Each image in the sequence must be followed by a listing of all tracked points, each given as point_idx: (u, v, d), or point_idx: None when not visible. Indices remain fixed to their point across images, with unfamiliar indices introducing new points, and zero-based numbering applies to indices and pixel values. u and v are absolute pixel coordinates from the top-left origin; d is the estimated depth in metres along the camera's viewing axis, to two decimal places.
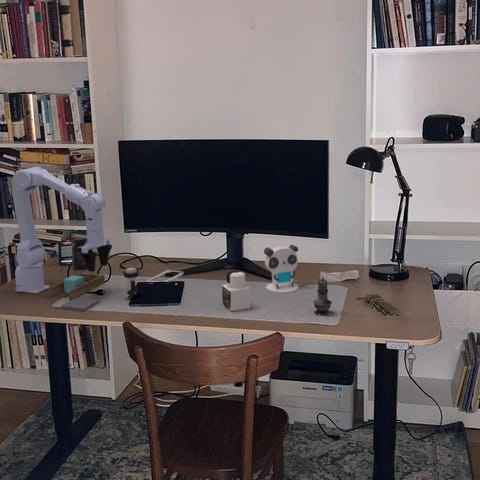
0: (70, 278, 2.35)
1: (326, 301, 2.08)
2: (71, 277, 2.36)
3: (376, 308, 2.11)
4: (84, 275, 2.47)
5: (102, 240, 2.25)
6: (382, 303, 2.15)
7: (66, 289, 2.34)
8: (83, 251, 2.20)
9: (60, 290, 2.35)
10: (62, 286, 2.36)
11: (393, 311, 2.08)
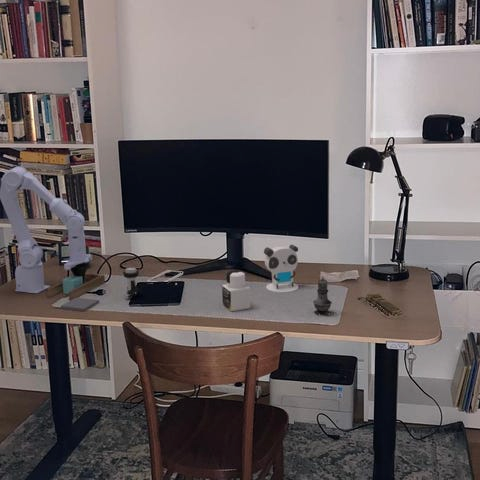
0: (69, 278, 2.35)
1: (326, 301, 2.08)
2: (70, 277, 2.35)
3: (378, 308, 2.12)
4: None
5: (84, 257, 2.36)
6: (383, 303, 2.15)
7: (65, 289, 2.34)
8: (66, 268, 2.31)
9: (60, 290, 2.35)
10: (62, 286, 2.36)
11: (395, 311, 2.08)
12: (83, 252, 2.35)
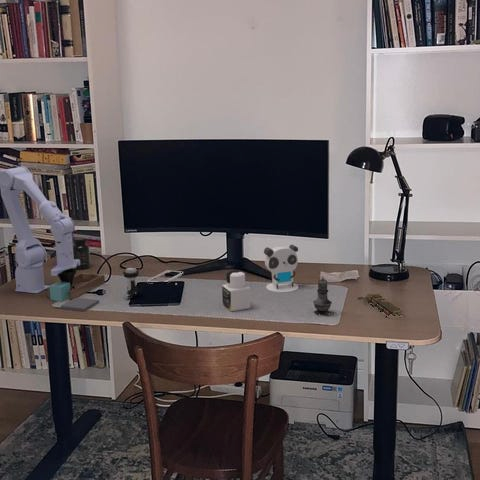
0: (56, 284, 2.28)
1: (326, 301, 2.08)
2: (57, 283, 2.29)
3: (378, 308, 2.12)
4: (84, 275, 2.47)
5: (72, 263, 2.29)
6: (384, 303, 2.15)
7: (52, 296, 2.27)
8: (52, 274, 2.24)
9: None
10: None
11: (395, 311, 2.08)
12: (71, 257, 2.28)
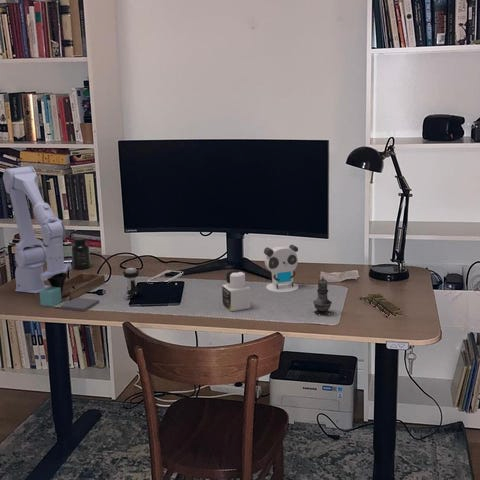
0: (46, 289, 2.23)
1: (326, 301, 2.08)
2: (47, 288, 2.24)
3: (379, 308, 2.12)
4: (84, 275, 2.47)
5: (62, 267, 2.24)
6: (384, 303, 2.15)
7: (42, 301, 2.22)
8: (42, 279, 2.19)
9: None
10: None
11: (396, 311, 2.08)
12: (61, 262, 2.23)
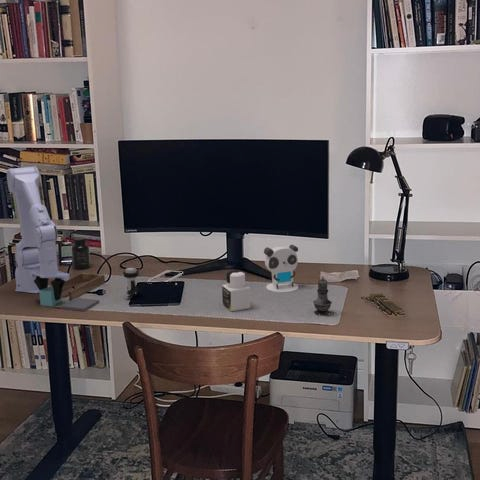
0: (46, 289, 2.23)
1: (326, 301, 2.08)
2: (47, 288, 2.24)
3: (380, 307, 2.12)
4: (84, 275, 2.47)
5: (43, 272, 2.19)
6: (386, 302, 2.16)
7: (42, 301, 2.22)
8: None
9: None
10: None
11: (397, 310, 2.08)
12: (42, 266, 2.19)
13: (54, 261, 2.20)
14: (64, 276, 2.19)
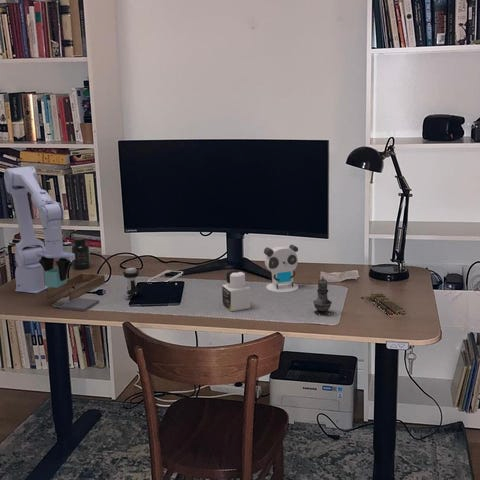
0: (51, 270, 2.20)
1: (326, 301, 2.08)
2: (52, 269, 2.21)
3: (381, 307, 2.12)
4: (84, 275, 2.47)
5: (48, 252, 2.17)
6: (387, 302, 2.16)
7: (47, 282, 2.19)
8: None
9: (60, 290, 2.35)
10: (62, 286, 2.36)
11: (398, 310, 2.08)
12: (47, 246, 2.16)
13: (59, 241, 2.17)
14: (69, 256, 2.16)
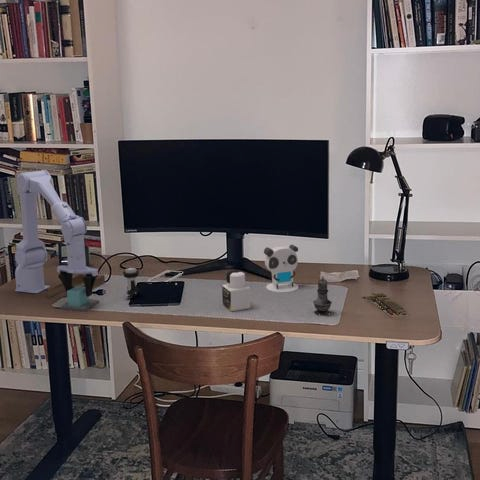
0: (73, 289, 2.19)
1: (326, 301, 2.08)
2: (75, 288, 2.20)
3: (382, 307, 2.12)
4: (84, 275, 2.47)
5: (71, 267, 2.15)
6: (388, 302, 2.16)
7: (69, 301, 2.18)
8: None
9: (60, 290, 2.35)
10: (62, 286, 2.36)
11: (399, 310, 2.08)
12: (70, 261, 2.15)
13: (82, 256, 2.16)
14: (93, 271, 2.15)
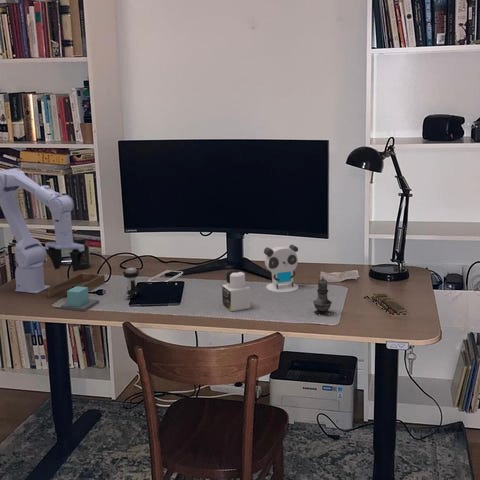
0: (73, 289, 2.19)
1: (326, 301, 2.08)
2: (75, 288, 2.20)
3: (383, 307, 2.12)
4: (84, 275, 2.47)
5: (58, 243, 2.25)
6: (389, 302, 2.16)
7: (69, 301, 2.18)
8: None
9: (60, 290, 2.35)
10: (62, 286, 2.36)
11: (400, 310, 2.08)
12: (57, 237, 2.24)
13: (69, 232, 2.25)
14: (79, 247, 2.24)
